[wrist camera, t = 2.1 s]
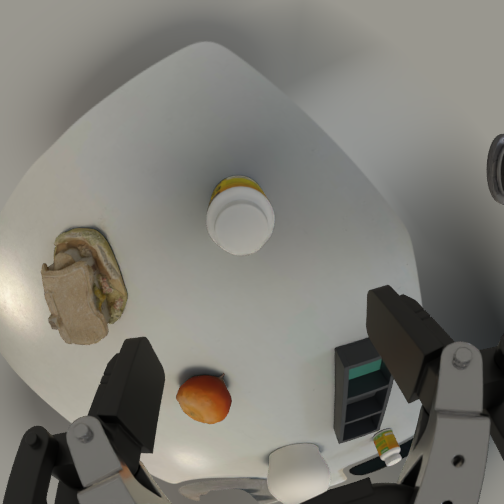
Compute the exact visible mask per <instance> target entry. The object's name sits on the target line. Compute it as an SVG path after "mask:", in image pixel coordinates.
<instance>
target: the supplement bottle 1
mask: <svg viewBox="0 0 504 504" xmlns="http://www.w3.org/2000/svg"><path fill="white" fill-rule="evenodd" d="M274 224H275V215H274V211H273V208H272V205H271V203H270V202H269V200H268V199H267V197H266V196H265V194H264V192H263V191H262V189H261V188H260V186H259V185H258V184H257V183H256V182H255V181H254V180H252V179H251V178H248V177H245V176H240V175H236V176H231V177H228V178H226V179H224V180H222V181H221V182H220V183H219V184H218V185H217V186H216V188H215V189H214V191H213V194H212V197H211V200H210V203H209V207H208V210H207V215H206V226H207V230H208V233H209V235H210V237H211V238H212V240H213V241H214V242H215V243H216V244H217V245H218V246H219V247H221V248H222V249H224V250H225V251H227V252H228V253H231V254H233V255H238V256H244V255H249V254H252V253H254V252H256V251H258V250H259V249H260V248H261V247H262V246H263V245H264V244H265V243H266V241H267V240H268V239H269V238H270V236H271V234H272V232H273V229H274Z"/></svg>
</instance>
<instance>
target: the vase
mask: <svg viewBox="0 0 504 504" xmlns="http://www.w3.org/2000/svg"><path fill="white" fill-rule="evenodd" d="M330 482H331V475H330V470H329V467H328V465H327V463H326V462H325V460H324V458H323V457H322V455H321V453H320V451H319V449H318V446H316V445H314V444H309V443H302V444H293V445H289V446H285V447H282V448H280V449H277V450H275V451H274V452H273V453H271V454H270V456H269V469H268V476H267V485H268V489H269V491H270V493H271V494H272V495H273V496H274V497H275V498H276V499H278V500H279V501H280V502H282V503H284V504H300V503H302V502H304V501H306V500H309V499H311V498H313V497H315V496H317V495H319V494H321V493H324V492H326V490H327V489H328V487H329V485H330Z"/></svg>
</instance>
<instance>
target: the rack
mask: <svg viewBox="0 0 504 504" xmlns="http://www.w3.org/2000/svg"><path fill="white" fill-rule="evenodd" d="M393 380H394V378H393V376H392V375H391V373H390V371H389V370H388V368H387V366H386V365H385V363H384V361H383V360H382V358H381V357H380V355H379V353H378V352H377V350H376V348H375V347H374V345H373V344H372V342H371V340H370V339H369V338H367V339H364V340H360V341H357V342H354V343H351V344H347V345H344V346H341V347H337V348H335V409H334V431H335V434H336V437H337V440H338V443H339V444H340V443H343V442H347V441H350V440H353V439H356V438H359V437H362V436H365V435H367V434H370V433H373V432H376V431H378V430H379V429H380V426H381V423H382V420H383V417H384V414H385V410H386V407H387V403H388V400H389V396H390V392H391V388H392V384H393Z"/></svg>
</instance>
